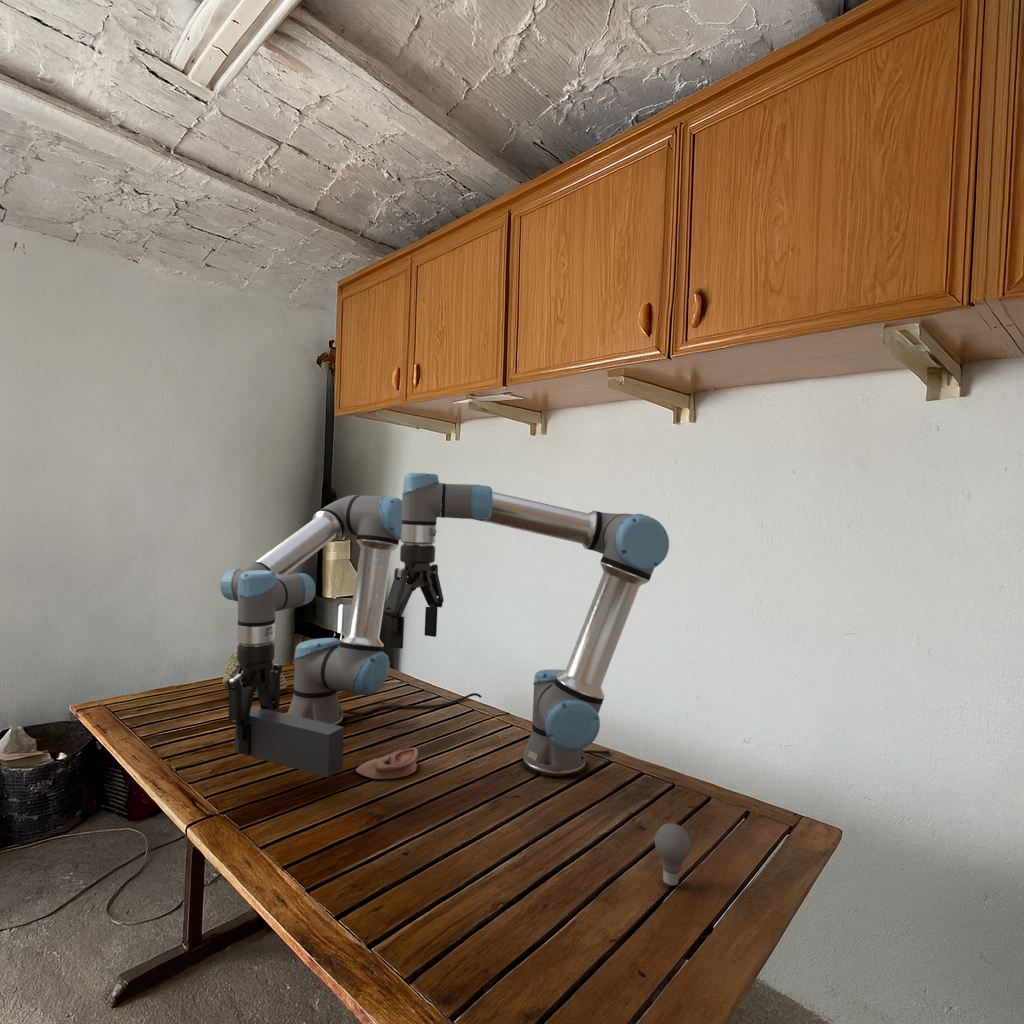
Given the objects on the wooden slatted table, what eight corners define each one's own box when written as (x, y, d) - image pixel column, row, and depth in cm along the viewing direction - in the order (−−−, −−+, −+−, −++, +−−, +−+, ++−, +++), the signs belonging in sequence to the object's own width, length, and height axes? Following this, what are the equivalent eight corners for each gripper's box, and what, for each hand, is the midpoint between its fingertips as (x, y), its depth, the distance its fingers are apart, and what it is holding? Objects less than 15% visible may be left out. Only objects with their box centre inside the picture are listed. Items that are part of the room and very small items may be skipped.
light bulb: (648, 873, 111) (650, 816, 111) (681, 872, 111) (684, 816, 111) (659, 894, 105) (661, 834, 105) (694, 894, 105) (697, 834, 105)
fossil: (218, 695, 195) (220, 647, 195) (278, 685, 208) (279, 640, 207) (228, 703, 189) (230, 653, 188) (289, 692, 201) (290, 645, 201)
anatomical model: (350, 758, 144) (371, 740, 155) (349, 775, 144) (371, 756, 155) (405, 766, 141) (423, 746, 152) (405, 783, 141) (422, 763, 152)
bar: (234, 752, 137) (235, 712, 137) (251, 744, 141) (251, 705, 141) (328, 777, 127) (329, 734, 127) (342, 768, 131) (343, 726, 131)
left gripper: (236, 654, 127) (234, 768, 128) (298, 636, 143) (296, 737, 144) (209, 649, 130) (207, 760, 131) (273, 632, 146) (271, 731, 147)
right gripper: (400, 548, 124) (396, 655, 125) (460, 542, 147) (456, 633, 148) (368, 545, 128) (364, 650, 128) (432, 540, 150) (429, 629, 151)
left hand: (254, 748), depth 138 cm, fingers closed on bar, 5 cm apart
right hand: (414, 641), depth 138 cm, fingers open, 13 cm apart
